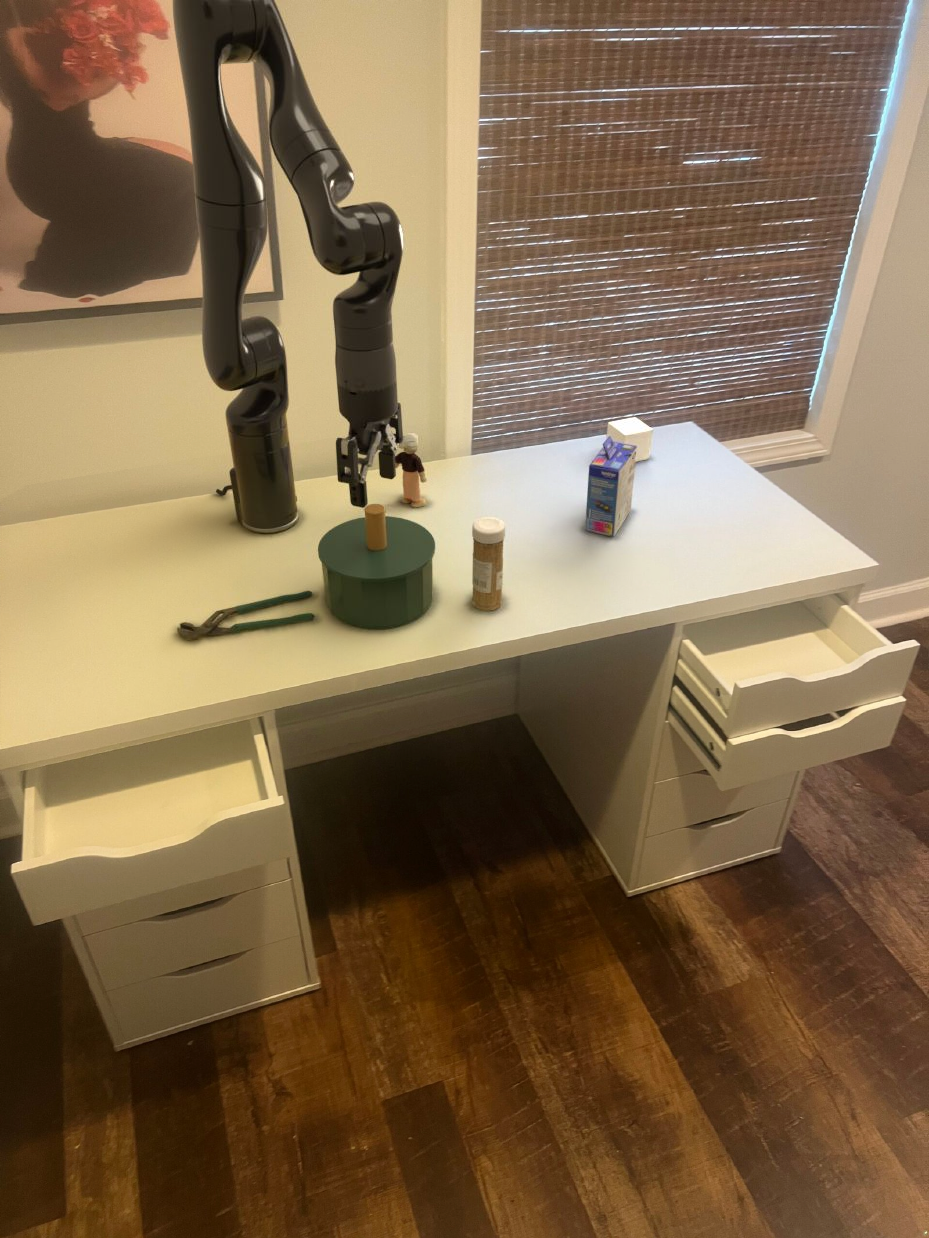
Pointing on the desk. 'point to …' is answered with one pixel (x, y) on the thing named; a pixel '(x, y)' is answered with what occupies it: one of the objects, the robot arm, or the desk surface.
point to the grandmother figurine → (411, 470)
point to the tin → (379, 599)
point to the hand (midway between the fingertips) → (373, 491)
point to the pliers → (212, 628)
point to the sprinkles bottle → (487, 562)
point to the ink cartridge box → (610, 487)
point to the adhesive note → (632, 435)
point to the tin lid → (376, 547)
